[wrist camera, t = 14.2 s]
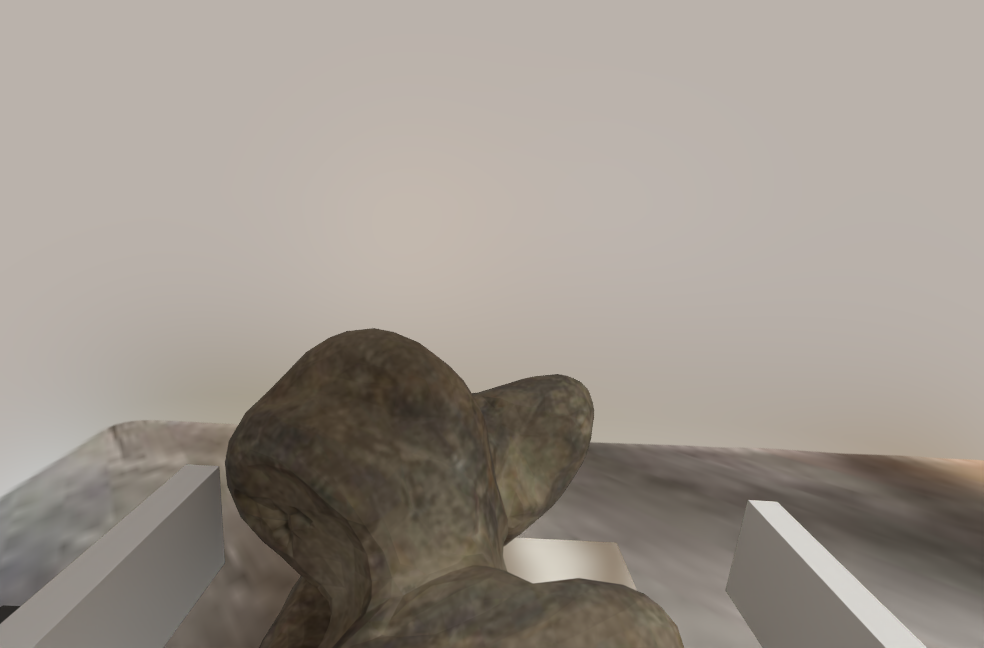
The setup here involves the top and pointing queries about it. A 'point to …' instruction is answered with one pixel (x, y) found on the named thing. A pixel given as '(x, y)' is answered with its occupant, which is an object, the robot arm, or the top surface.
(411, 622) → the decorative stone
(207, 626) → the top surface
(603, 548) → the block
